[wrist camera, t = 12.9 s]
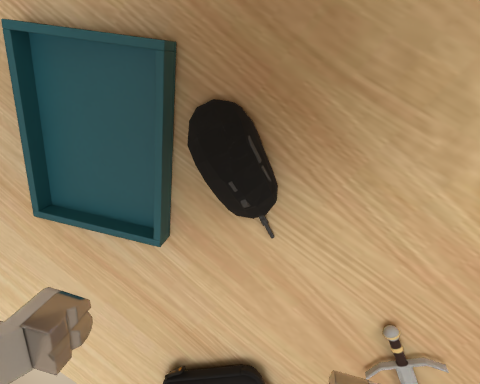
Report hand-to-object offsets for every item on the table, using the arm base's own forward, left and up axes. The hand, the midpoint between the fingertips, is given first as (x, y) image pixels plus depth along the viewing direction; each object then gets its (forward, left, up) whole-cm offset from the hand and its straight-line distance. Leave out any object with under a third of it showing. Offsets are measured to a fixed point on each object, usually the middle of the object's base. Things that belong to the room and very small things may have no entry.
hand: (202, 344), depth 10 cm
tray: (+1, -18, -21) cm, 28 cm away
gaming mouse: (+2, -3, -22) cm, 22 cm away
